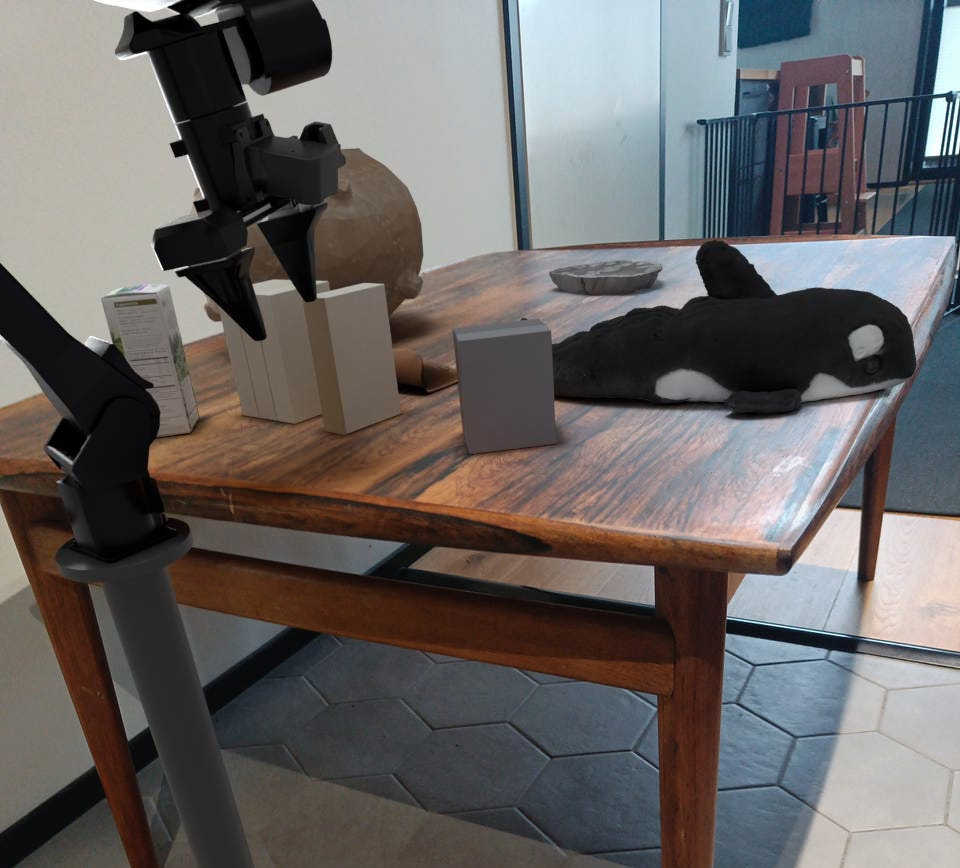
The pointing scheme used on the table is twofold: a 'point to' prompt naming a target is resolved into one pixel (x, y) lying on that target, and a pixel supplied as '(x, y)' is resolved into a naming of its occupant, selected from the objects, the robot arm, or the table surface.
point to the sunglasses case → (422, 371)
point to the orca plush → (741, 345)
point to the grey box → (505, 385)
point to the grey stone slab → (607, 277)
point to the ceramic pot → (355, 236)
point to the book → (353, 357)
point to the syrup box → (154, 350)
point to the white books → (275, 357)
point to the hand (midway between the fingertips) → (287, 319)
